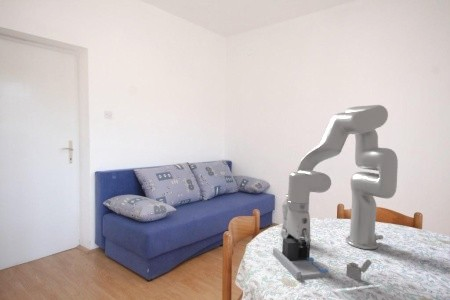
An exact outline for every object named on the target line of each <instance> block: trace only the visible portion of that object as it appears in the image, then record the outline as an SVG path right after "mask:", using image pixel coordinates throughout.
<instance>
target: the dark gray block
mask: <svg viewBox="0 0 450 300" xmlns="http://www.w3.org/2000/svg"><path fill="white" fill-rule="evenodd" d="M303 242H304V240H302V243H303ZM298 247H300V246H299V242H298V240H297V239H296V238H290V239H283V238H282V249H281V251H282V254H283V255H284V256H285V257H286V258H287V259H288V260H289V261H300V260H307V258H310V254H311V243H310V244H309V246H308V248H307V258H298Z"/></svg>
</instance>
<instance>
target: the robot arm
mask: <svg viewBox="0 0 450 300" xmlns="http://www.w3.org/2000/svg"><path fill="white" fill-rule="evenodd" d="M388 118H389V111H388V109H387V108H386V107H385V106H384V105H381V104H373V105H372V104H371V105H362V106H361V105H360V106H359V105H357V106H353V107H348V108H346V109H345V110H344V111H343V112H339V113H335V114H333V116H332V117H331V118H330V120H329V122H328V124H327V126H326V129H325V131H324V133H323V135H322V137H321V138H320V139H321V140H320V142H319V143H318V145H316V146H315V147H314V148H312V149H311V150H310V151H309V152H307V154H305V156H303V158H302V159H301V160H300V162H299V164H298V166H297V168H296V170H295V171H293V172H291V173H289V175H288V193H287V194H288V212H287V221H286V223H285V227H286V239H290V238H296V239H297V240H298V242H299V246H300V247H298V258H307V248H308V246H309V244H310V245H311V242H312V239H311V218H310V217H311V216H310V212H309V211H310V193H319V194H320V193H325V192H327V191H329V189H330V188H331V187H332V180H331V177H330V176H329V175H328V174H326V173H324V172H320V171H315V170H314V169H315V168H316V167H317V165H319V164H320V163H322V162H324V161H326V160H329V159H332V158H334V157H336V156H339V155H340V154H341V152H342V151H343V148H344V145H346V144H345V143H346V142H347V141H346V140H347V139H348V137H349V135H354V138H355V146H354V147H355V149H354V150H355V151H354V154H355V155H354V159H355V160H354V161H355V165H356V166H357V168H360V169H364V170H369V172H368V171H357V172H354V173H353V174H352V176H351V178H350V189H351V211H350V212H351V213H350V227H349V229H350V231H349V236H346V238H345V242H346V244H348V245H350V246H352V247H355V248H358V249H364V250H375V249H378V248H379V243H378V242H377V241H378V240H383V239H384V236H383V235H382V234H376V233H375V232H376V231H375V230H376V220H377V219H376V216H377V202H376V200H375V197H376V198H382V199H388V200H389V199H392V198H393V197H394V196H395V194H396V193H397V187H398V165H399V162H398V160H399V159H398V156H397V154H396V152H395V151H394V150H392V149H391V148H389V147H379V135H378V132H377V130H376V129H378V128H381V127H382V126H384V125H385V123H386V122H387V121H388ZM371 171H378V173H375V172H371ZM302 240H304V242H303V243H302Z"/></svg>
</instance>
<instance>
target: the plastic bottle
mask: <svg viewBox="0 0 450 300" xmlns="http://www.w3.org/2000/svg"><path fill="white" fill-rule="evenodd" d="M281 209H282V226H281V232H280V235H281V238H282V240H283V239H286V227H285V223H286V221H287V212H288V193H287V194H285V201H284V202H283V203H282V205H281Z"/></svg>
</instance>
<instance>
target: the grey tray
mask: <svg viewBox="0 0 450 300" xmlns="http://www.w3.org/2000/svg"><path fill="white" fill-rule="evenodd" d="M272 256H273V257H274V258H275V259H276V260H278V262H279V263H280V264H281V265H282V266H283V267H284V268H285V269H286V270H287V272H288V273H289V274H290V275H291V276H292V277H293V278H294V279H295V280H296V281H299V280H309V279H316V278H325V277H330V275H329V274H328V273H329V272H328V271H329V270H328V269H327V268H321V267H320V266H319V265H317V264H316V263H315V262H314V261H315V260H314V258H313V257H310V258H307V260H300V261H289V260H288V259H287V258H286V257H285V256H284V255H283V254H282V250H279V248H277V247H275V248H274V247H273V248H272Z"/></svg>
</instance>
